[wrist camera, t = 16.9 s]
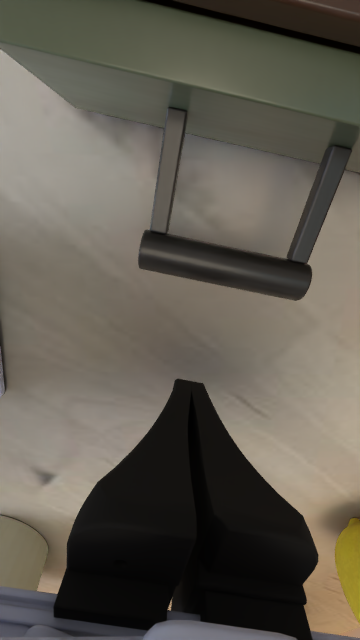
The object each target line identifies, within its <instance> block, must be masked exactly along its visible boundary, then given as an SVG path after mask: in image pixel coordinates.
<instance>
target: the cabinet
mask: <svg viewBox="0 0 360 640" xmlns="http://www.w3.org/2000/svg"><path fill="white" fill-rule="evenodd" d="M173 1H177V2H181V3H185V4H189V5H193V6H197V7H201V8H205V9H209V10H213V11H217V12H221V13H225V14H229V15H233V16H237V17H241V18H245V19H249V20H254V21H258V22H262V23H266V24H270V25H274V26H278V27H282V28H286V29H290V30H294V31H298V32H302V33H306V34H310V35H314V36H318V37H322V38H326V39H330V40H334V41H338V42H342V43H346V44H350V45H354V46H358V47H360V0H173Z"/></svg>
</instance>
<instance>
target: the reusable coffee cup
mask: <svg viewBox="0 0 360 640" xmlns="http://www.w3.org/2000/svg"><path fill="white" fill-rule="evenodd" d="M47 555H48V546H47V543H46V541H45V540H44V538H43V537H42V536H41V535H40V534H39V533H38V532H37V531H35V530H34V529H33V528H31V527H30V526H28V525H26V524H24V523H22V522H20V521H17V520H15V519H12V518H9V517H5V516H1V515H0V586H4V587H11V588H18V589H25V590H32V591H37V588H38V585H39V581H40V578H41V575H42V571H43V568H44V565H45V561H46V558H47Z"/></svg>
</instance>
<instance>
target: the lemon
mask: <svg viewBox="0 0 360 640" xmlns="http://www.w3.org/2000/svg"><path fill="white" fill-rule="evenodd" d="M335 563H336V568H337V573H338V576H339V579H340V583H341V586H342V589H343V591H344V594H345V596H346V599H347V601H348V603H349V605H350V607H351V609H352V611H353V613H354V615H355V617H356V618H357V620H358V622H359V623H360V520H359V519H357V518H352V519H350V521H349V524H348V527H346V528H345V529H344V530H343V531H342V532H341V533H340V535H339V537H338V539H337V542H336V547H335Z"/></svg>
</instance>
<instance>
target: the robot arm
mask: <svg viewBox="0 0 360 640" xmlns="http://www.w3.org/2000/svg"><path fill="white" fill-rule="evenodd" d="M4 393H5V387H4V377H3V367H2V358H1V348H0V397H1V396H2V395H3V394H4ZM317 563H318V553H317V550H316V547H315V544H314V541H313V539H312V536H311V533H310V531H309V529H308V526H307V524H306V522H305V520H304V517H303V516H302V515H301V514H300V513H299V512H298V511H297V510H296V509H295V508H294V507H292V506H291V505H290V504H289V503H288V502H287V501H286V500H285V499H284V498H282V497H281V496H280V495H279V494H278V493H277V492H276V491H275V490H274V489H273V488H272V487H271V486H270V485H269V484H268V483H267V482H266V481H265V479H264V478H263V477H262V476H261V475H260V474H259V473H258V472H257V470H256V469H255V468H254V467H253V466H252V465H251V463H250V462H249V461H248V460H247V459H246V457H245V456H244V455H243V454H242V452H241V451H240V449H239V448H238V447H237V445H236V444H235V442H234V441H233V439H232V438H231V436H230V435H229V433H228V432H227V430H226V428H225V427H224V425H223V423H222V421H221V420H220V418H219V416H218V414H217V412H216V410H215V408H214V406H213V404H212V402H211V400H210V398H209V395H208V393H207V391H206V388H205V386H204V384H203V383H199V382H193V381H188V380H182V379H176V380H175V382H174V386H173V391H172V393H171V395H170V398H169V400H168V402H167V403H166V405H165V407H164V409H163V411H162V412H161V414H160V415H159V417H158V419H157V420H156V422H155V423H154V425H153V426H152V427H151V429H150V430H149V431H148V433H147V434H146V435H145V436H144V438H143V439H142V440H141V441H140V442H139V444H138V445H137V446H136V447H135V448H134V449H133V450H132V451H131V452H130V453H129V454H128V455H127V456H126V457H125V458H124V459H123V460H122V461H121V462H120V463H119V464H118V465H117V466H116V467H115V468H114V469H113V470H111V471H110V472H109V473H108V474H107V475H106V476H104V477H103V478H102V479H101V480H100V481H99V482H97V484H96V485H95V487H94V488H93V490H92V491H91V493H90V494H89V496H88V497H87V499H86V500H85V502H84V504H83V505H82V507H81V509H80V511H79V513H78V515H77V517H76V519H75V522H74V524H73V527H72V530H71V533H70V535H69V539H68V542H67V568H66V571H65V574H64V577H63V580H62V583H61V586H60V589H59V592H58V594H52V593H46V592H39V591H32V590H25V589H18V588H11V587H4V586H0V640H360V638H354V637H348V636H341V635H334V634H328V633H321V632H314V631H310V628H309V624H308V620H307V617H306V613H305V609H304V606H303V605H305V604H306V603H307V599H306V595H305V592H304V588H303V583H304V582H305V581H306V579H307V578H308V577H309V576H310V574H311V573H312V572H313V571H314V569H315V567H316V565H317ZM171 599H172V606H171V611H169V610H167V609H168V607H169V604H170V601H171Z"/></svg>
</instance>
